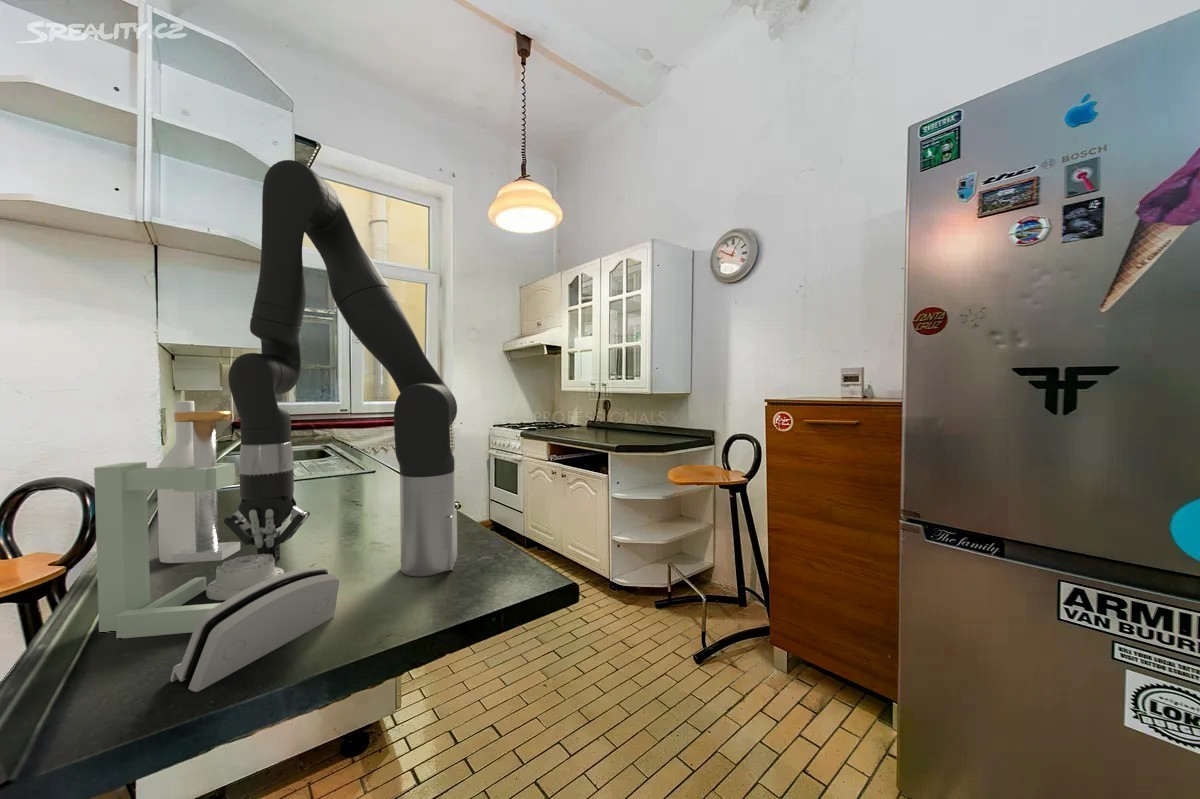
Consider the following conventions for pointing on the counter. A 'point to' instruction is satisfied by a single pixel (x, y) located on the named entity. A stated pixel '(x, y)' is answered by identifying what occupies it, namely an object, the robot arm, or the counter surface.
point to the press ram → (205, 500)
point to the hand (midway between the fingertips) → (268, 566)
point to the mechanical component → (241, 575)
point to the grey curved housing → (256, 624)
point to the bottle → (177, 494)
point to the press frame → (143, 548)
